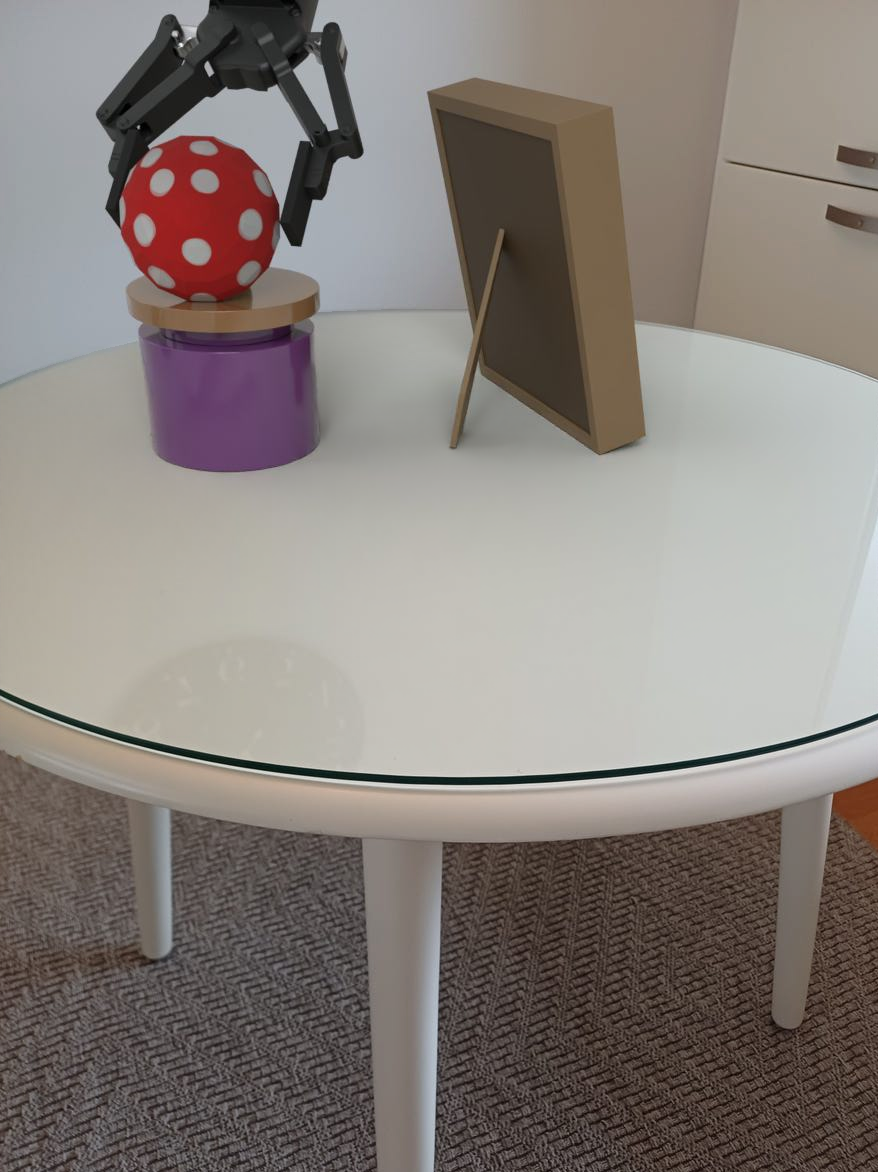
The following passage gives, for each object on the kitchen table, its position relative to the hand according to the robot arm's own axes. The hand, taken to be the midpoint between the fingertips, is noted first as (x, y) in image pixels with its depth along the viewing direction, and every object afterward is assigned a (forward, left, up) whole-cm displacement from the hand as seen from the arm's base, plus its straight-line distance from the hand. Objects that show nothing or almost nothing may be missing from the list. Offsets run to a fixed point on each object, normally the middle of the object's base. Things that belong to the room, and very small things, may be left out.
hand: (203, 228), depth 79 cm
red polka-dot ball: (0, +3, -5) cm, 5 cm away
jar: (0, +3, -17) cm, 17 cm away
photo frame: (+19, +15, -17) cm, 29 cm away
